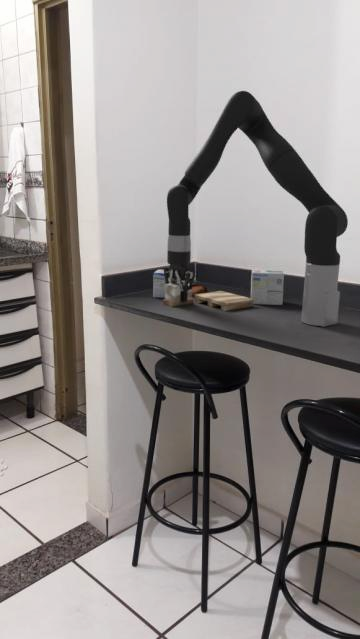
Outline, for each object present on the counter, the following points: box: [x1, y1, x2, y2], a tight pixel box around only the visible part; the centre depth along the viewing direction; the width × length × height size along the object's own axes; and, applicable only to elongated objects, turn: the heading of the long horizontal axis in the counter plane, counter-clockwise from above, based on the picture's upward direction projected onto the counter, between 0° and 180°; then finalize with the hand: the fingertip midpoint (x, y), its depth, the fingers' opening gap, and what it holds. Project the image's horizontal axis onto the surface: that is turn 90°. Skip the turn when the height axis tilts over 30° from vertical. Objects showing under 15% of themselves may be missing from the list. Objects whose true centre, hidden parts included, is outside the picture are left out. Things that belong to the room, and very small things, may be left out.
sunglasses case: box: [173, 282, 209, 298], centre depth 189 cm, size 18×7×7 cm
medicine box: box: [152, 269, 169, 299], centre depth 182 cm, size 8×4×9 cm, turn 172°
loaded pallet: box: [162, 283, 195, 307], centre depth 170 cm, size 5×9×6 cm, turn 128°
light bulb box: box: [250, 269, 285, 306], centre depth 173 cm, size 11×7×11 cm, turn 84°
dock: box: [193, 290, 254, 312], centre depth 170 cm, size 16×12×2 cm
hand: (178, 300), depth 170 cm, fingers closed on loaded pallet, 5 cm apart
